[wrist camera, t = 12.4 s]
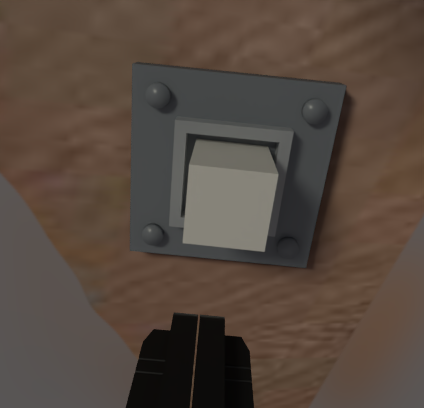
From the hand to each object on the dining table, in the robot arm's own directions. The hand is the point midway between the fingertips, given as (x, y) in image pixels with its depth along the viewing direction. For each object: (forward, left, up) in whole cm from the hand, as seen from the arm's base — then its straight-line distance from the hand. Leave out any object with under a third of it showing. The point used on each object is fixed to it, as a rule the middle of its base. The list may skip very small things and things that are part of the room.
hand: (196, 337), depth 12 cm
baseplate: (+1, +1, -19) cm, 19 cm away
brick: (+1, +1, -18) cm, 18 cm away
